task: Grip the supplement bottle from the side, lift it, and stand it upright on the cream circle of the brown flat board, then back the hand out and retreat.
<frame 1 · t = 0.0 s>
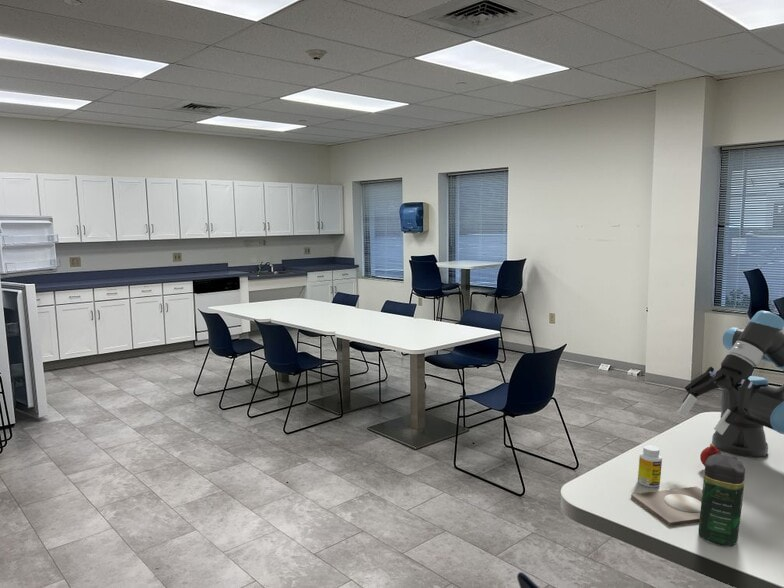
hand: (698, 423, 158), 15 cm above the table, tool tilted 35°, fingers open, 13 cm apart
brown flat board: (683, 507, 143), on the table
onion: (710, 471, 164), on the table
supplement bottle: (648, 484, 155), on the table
coffee jar: (718, 537, 130), on the table
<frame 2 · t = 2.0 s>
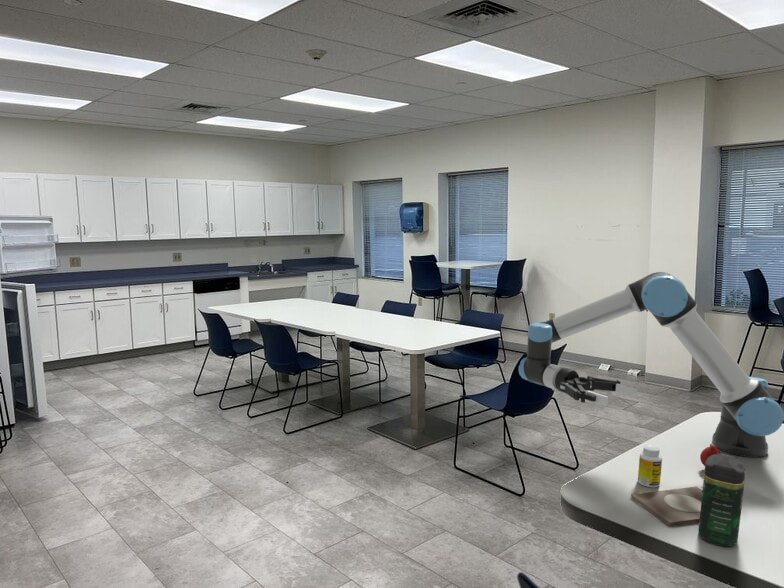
hand: (622, 397, 160), 22 cm above the table, tool horizontal, fingers open, 13 cm apart
nothing on the table moved.
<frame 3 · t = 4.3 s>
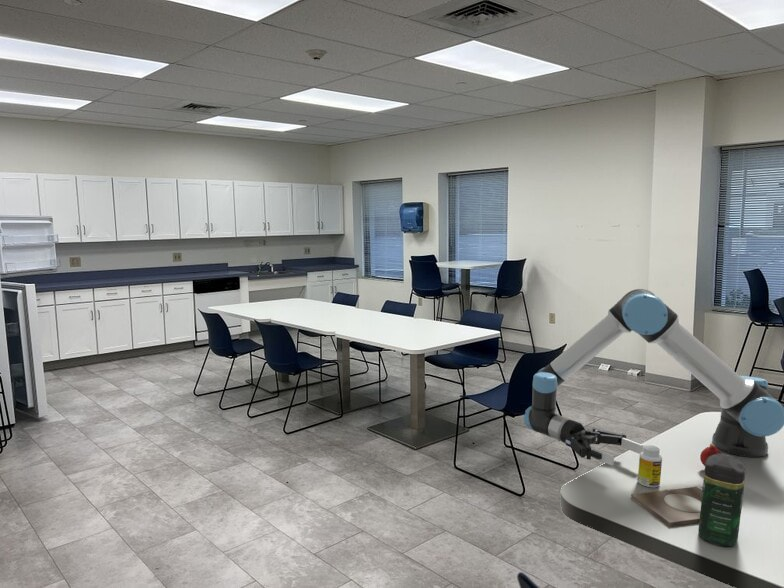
hand: (628, 455, 159), 6 cm above the table, tool horizontal, fingers open, 13 cm apart
nothing on the table moved.
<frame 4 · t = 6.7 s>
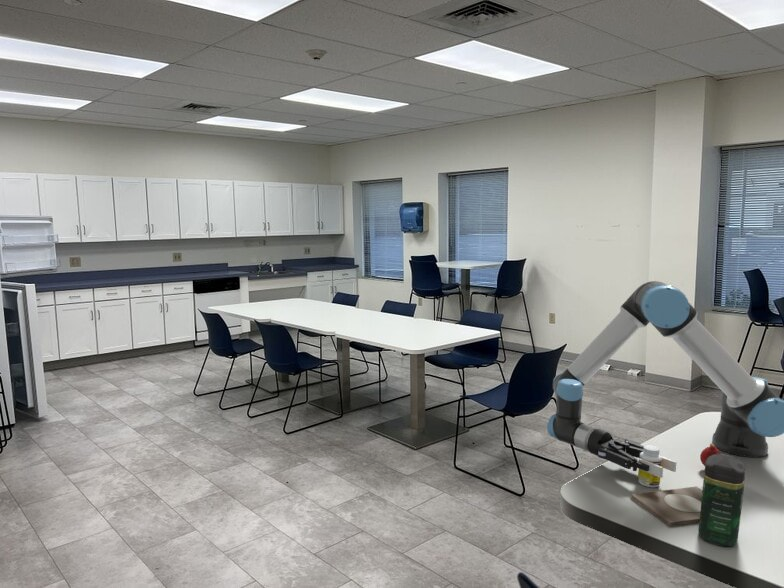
hand: (668, 469, 150), 6 cm above the table, tool horizontal, fingers closed on supplement bottle, 6 cm apart
supplement bottle: (648, 484, 155), on the table, touching gripper
everything else where it was.
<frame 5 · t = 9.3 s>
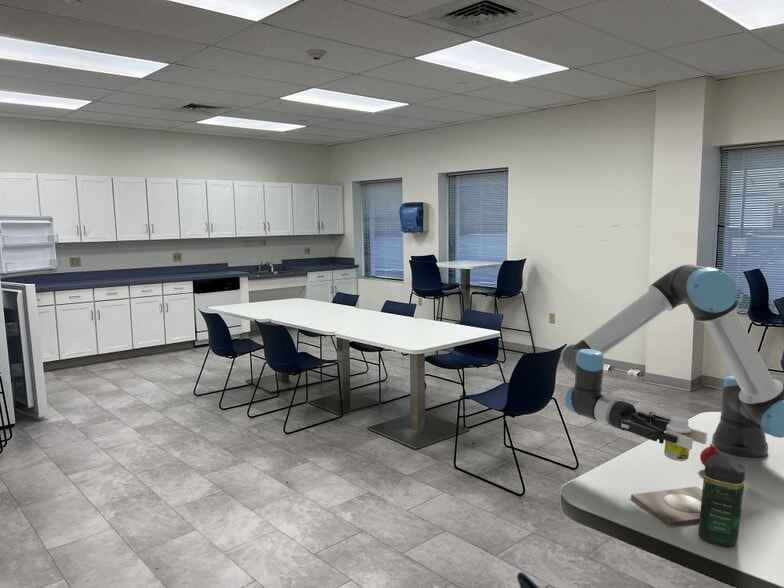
hand: (698, 441, 139), 18 cm above the table, tool horizontal, fingers closed on supplement bottle, 6 cm apart
supplement bottle: (676, 458, 144), point 12 cm above the table, touching gripper
everything else where it was.
when the fingers open (8 cm above the table, at t = 11.7 s): supplement bottle drops 1 cm, resting on brown flat board.
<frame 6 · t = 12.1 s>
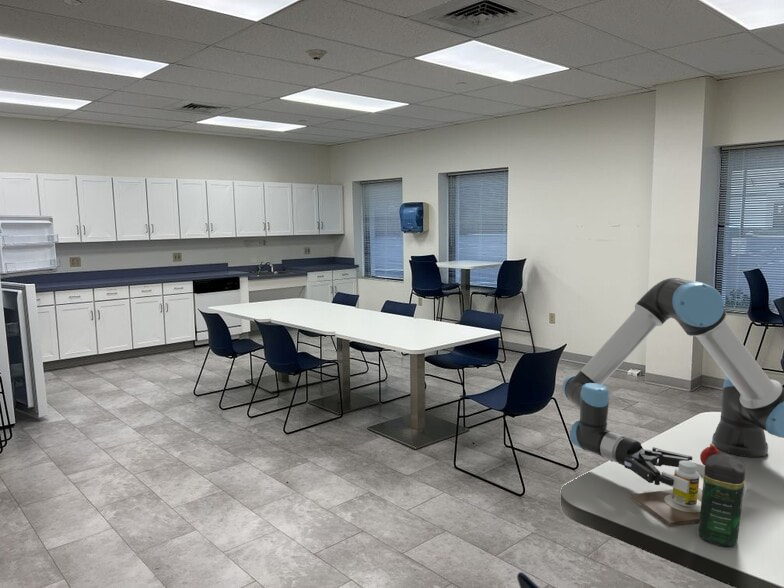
hand: (701, 480, 138), 8 cm above the table, tool horizontal, fingers open, 11 cm apart
supplement bottle: (684, 503, 143), point 1 cm above the table, touching brown flat board
everything else where it was.
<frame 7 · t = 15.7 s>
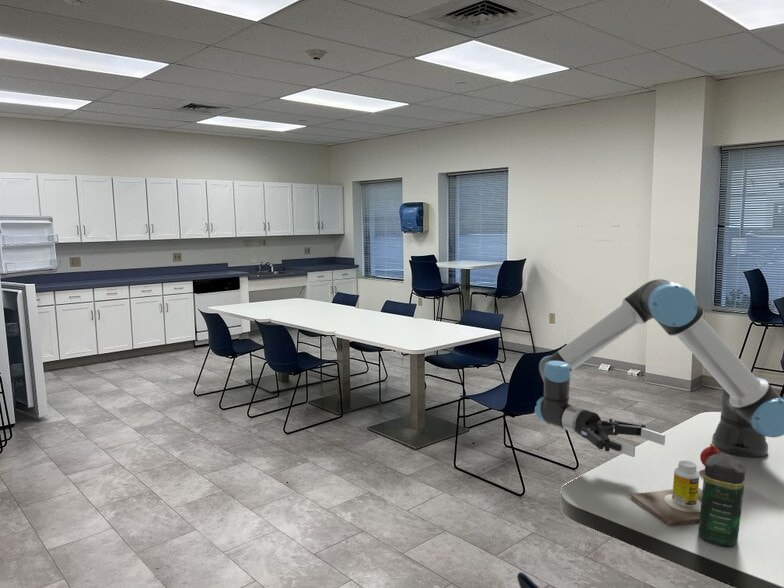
hand: (649, 445, 149), 13 cm above the table, tool horizontal, fingers open, 13 cm apart
nothing on the table moved.
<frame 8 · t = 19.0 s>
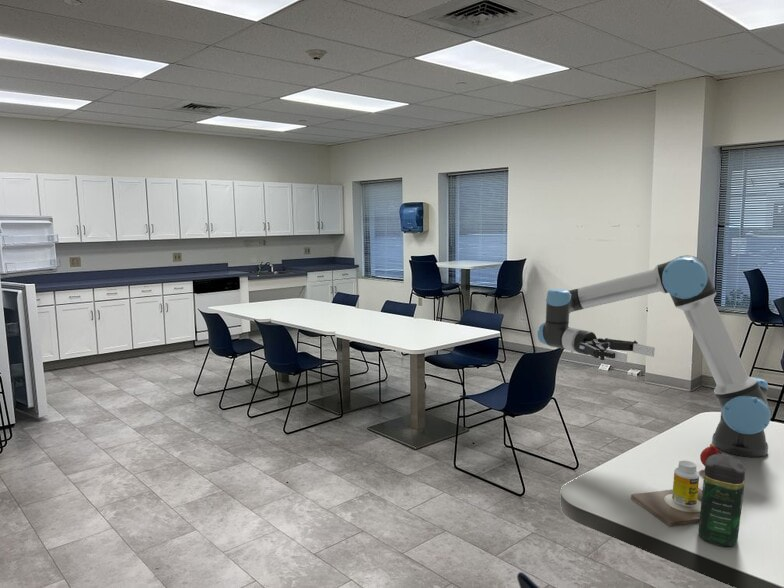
hand: (640, 355, 167), 32 cm above the table, tool horizontal, fingers open, 13 cm apart
nothing on the table moved.
at the end: supplement bottle inside the target area on the brown flat board (0.1 cm from its centre), point 1.0 cm above the brown flat board's base; supplement bottle tilted 0°; the gripper is holding nothing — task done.
